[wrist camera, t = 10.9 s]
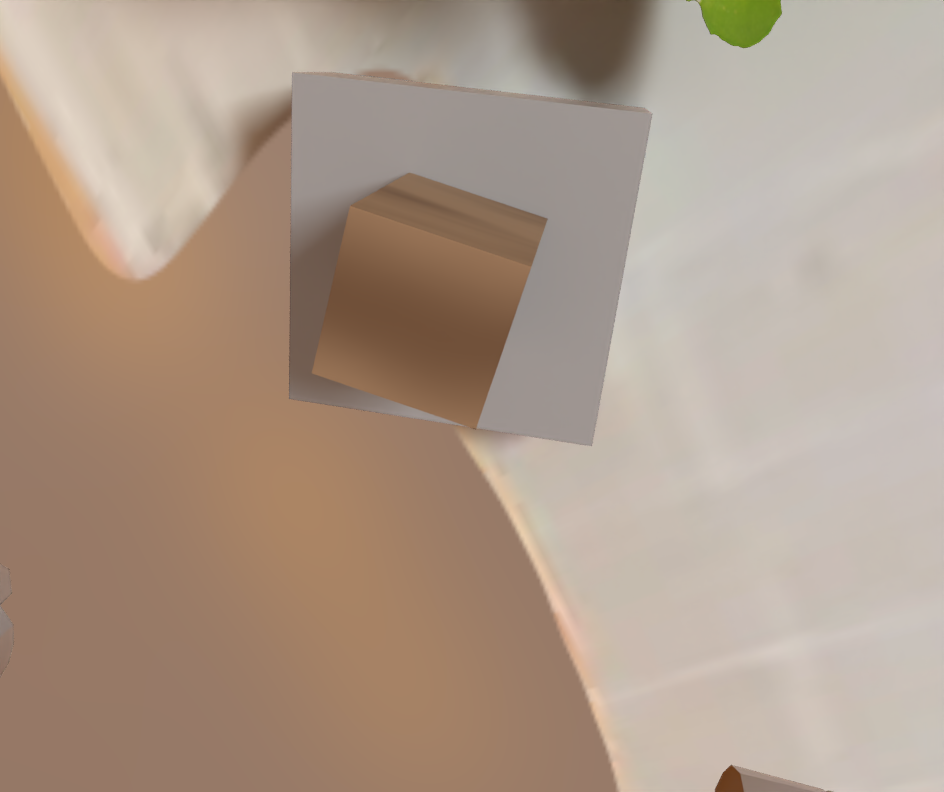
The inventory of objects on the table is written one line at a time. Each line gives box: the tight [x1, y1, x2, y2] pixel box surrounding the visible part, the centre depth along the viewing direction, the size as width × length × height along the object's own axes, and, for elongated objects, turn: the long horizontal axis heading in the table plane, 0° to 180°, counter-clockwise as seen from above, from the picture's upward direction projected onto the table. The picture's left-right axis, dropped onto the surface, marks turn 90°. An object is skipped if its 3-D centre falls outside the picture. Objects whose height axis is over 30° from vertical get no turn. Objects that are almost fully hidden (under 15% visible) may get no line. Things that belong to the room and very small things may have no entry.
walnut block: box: [312, 173, 548, 429], centre depth 25 cm, size 5×5×7 cm
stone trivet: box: [289, 72, 652, 446], centre depth 30 cm, size 12×12×5 cm
